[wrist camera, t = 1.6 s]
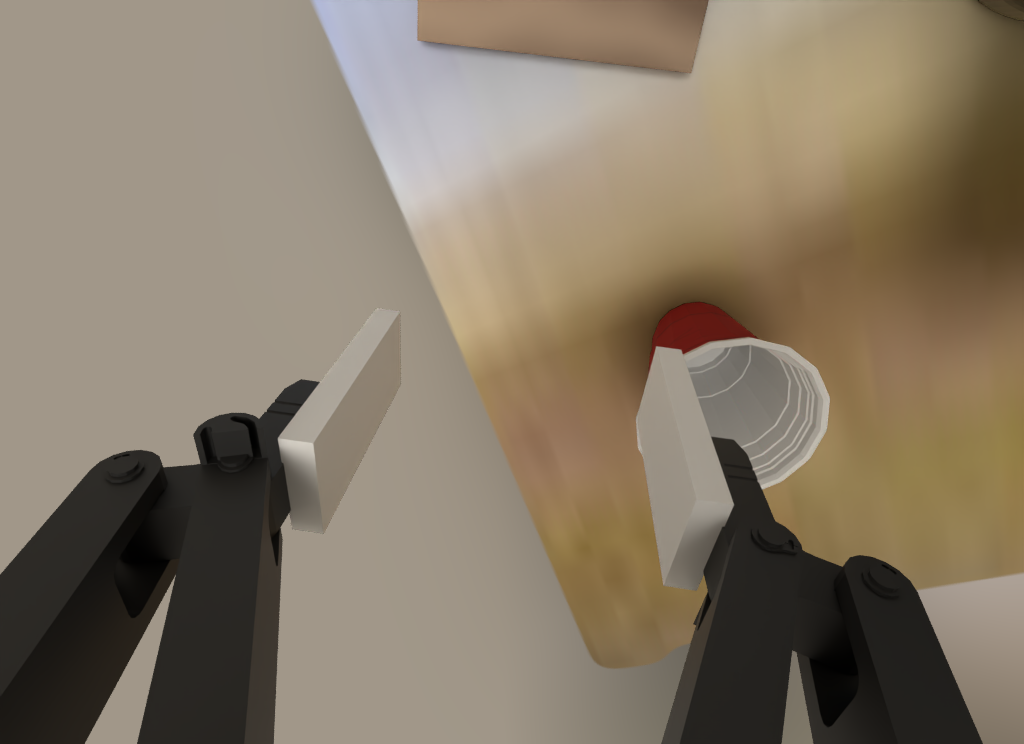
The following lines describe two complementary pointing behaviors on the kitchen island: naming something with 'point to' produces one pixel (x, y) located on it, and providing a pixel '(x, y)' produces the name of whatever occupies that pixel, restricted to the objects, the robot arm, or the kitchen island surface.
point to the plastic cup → (748, 389)
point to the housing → (572, 28)
